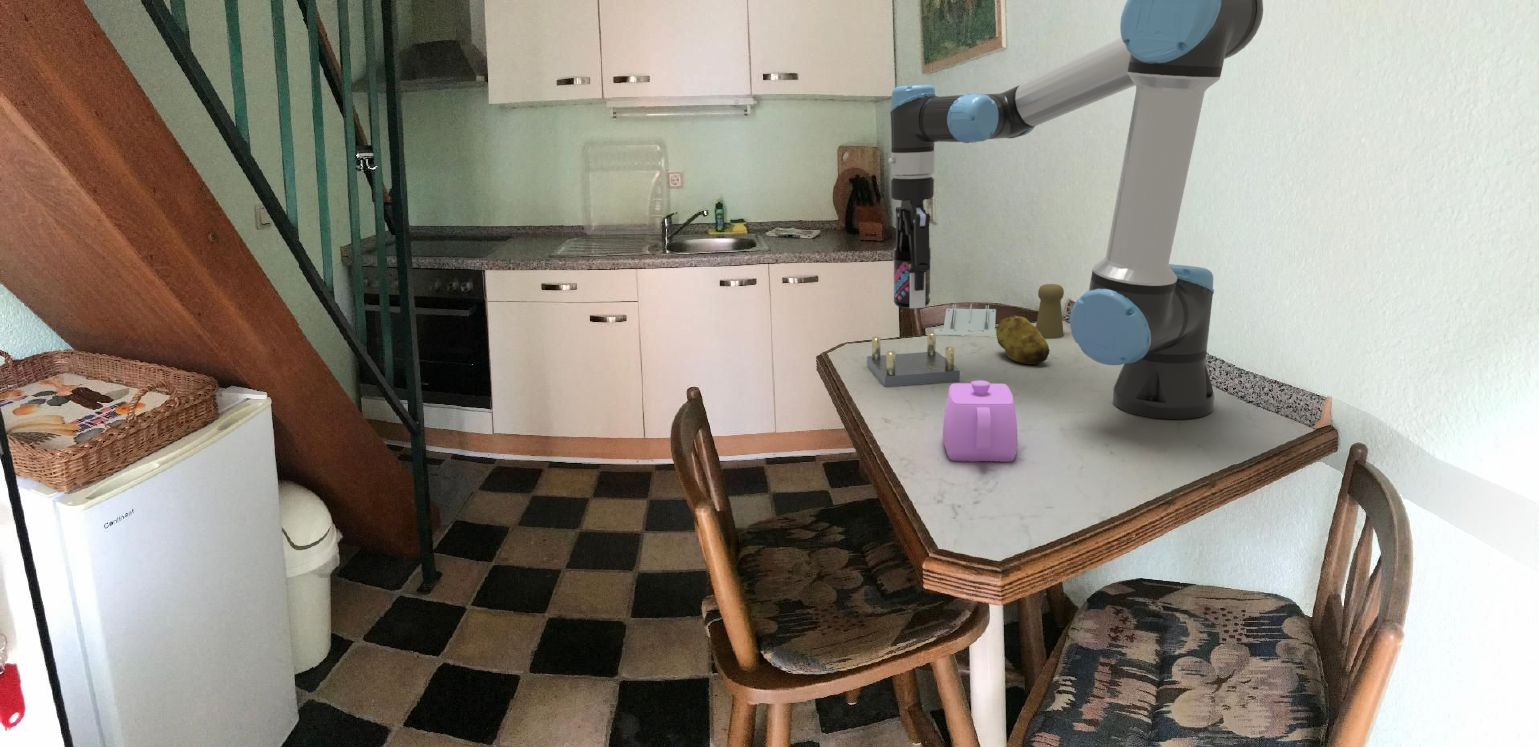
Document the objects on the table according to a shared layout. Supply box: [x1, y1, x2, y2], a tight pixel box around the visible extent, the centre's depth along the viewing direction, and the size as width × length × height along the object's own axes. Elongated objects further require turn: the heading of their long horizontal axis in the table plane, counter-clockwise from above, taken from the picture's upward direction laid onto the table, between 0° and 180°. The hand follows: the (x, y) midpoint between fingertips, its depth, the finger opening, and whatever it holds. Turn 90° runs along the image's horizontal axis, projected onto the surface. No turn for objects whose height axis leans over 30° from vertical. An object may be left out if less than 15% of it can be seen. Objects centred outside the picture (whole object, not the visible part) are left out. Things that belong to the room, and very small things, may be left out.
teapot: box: [942, 380, 1018, 463], centre depth 131 cm, size 18×10×10 cm, turn 171°
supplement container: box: [893, 246, 932, 309], centre depth 164 cm, size 7×7×10 cm
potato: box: [996, 315, 1051, 365], centre depth 174 cm, size 8×13×8 cm, turn 0°
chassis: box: [866, 332, 961, 388], centre depth 168 cm, size 14×14×6 cm
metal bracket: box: [933, 303, 997, 337], centre depth 200 cm, size 14×6×15 cm
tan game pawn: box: [1035, 283, 1065, 340], centre depth 191 cm, size 6×6×11 cm
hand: (911, 303), depth 166 cm, fingers closed on supplement container, 7 cm apart
